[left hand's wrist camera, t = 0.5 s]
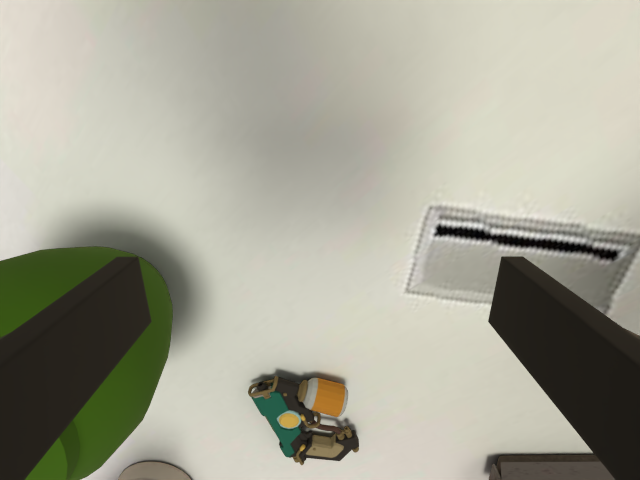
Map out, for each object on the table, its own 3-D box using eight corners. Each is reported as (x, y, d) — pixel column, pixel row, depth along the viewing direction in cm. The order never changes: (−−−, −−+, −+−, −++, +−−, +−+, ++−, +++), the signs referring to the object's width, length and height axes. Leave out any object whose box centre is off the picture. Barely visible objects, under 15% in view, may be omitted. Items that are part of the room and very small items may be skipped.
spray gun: (358, 445, 54) (264, 447, 55) (356, 365, 47) (249, 368, 48) (360, 473, 50) (259, 474, 51) (358, 389, 44) (242, 392, 44)
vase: (199, 211, 40) (40, 336, 17) (215, 348, 47) (116, 569, 24) (33, 210, 40) (-346, 335, 17) (73, 348, 47) (-162, 569, 24)
